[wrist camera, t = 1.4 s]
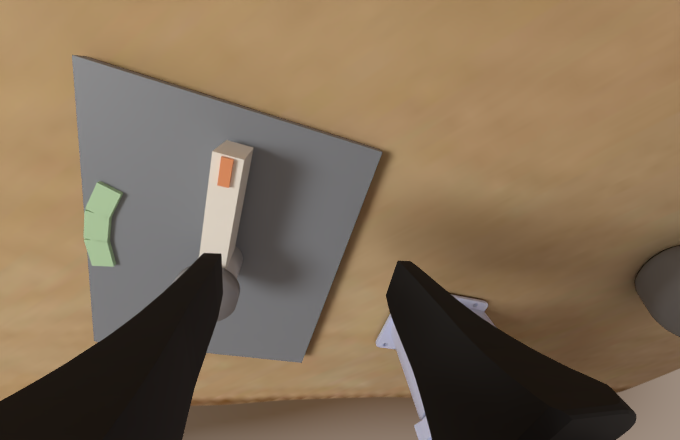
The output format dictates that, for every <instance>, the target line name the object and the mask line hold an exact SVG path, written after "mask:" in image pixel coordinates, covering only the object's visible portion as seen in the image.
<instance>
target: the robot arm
mask: <svg viewBox="0 0 680 440" xmlns="http://www.w3.org/2000/svg"><path fill="white" fill-rule="evenodd" d="M222 297H223V278H222V255H221V254H218V253H203V254H202V255H201V256H200V257H199V258H198V259H197V260H196V261H195V262H194V263H193V264H192V265H191V266H190V267H189V268H188V269H187V270H186V271H185V272H184V273H183V274H182V275H181V276H180V277H179V278H178V279H177V280H176V281H175V282H173V283H172V284H171V285H170V286H169V287H168V288H167V289H166V290H165V291H164V292H163V293H162V294H160V295H159V296H158V297H157V298H156V299H155V300H153V301H152V302H151V303H150V304H149V305H147V306H146V307H145V308H144V309H143V310H141V311H140V312H139V313H138V314H136V315H135V316H134V317H133V318H131V319H130V320H129V321H127V322H126V323H125V324H124V325H122V326H121V327H119V328H118V329H117V330H115V331H114V332H113V333H111V334H110V335H108V336H107V337H106V338H104V339H103V340H101V341H100V342H98V343H97V344H95V345H94V346H92V347H91V348H89V349H87V350H86V351H84V352H83V353H81V354H80V355H78V356H77V357H75V358H74V359H72V360H71V361H69V362H67V363H66V364H64V365H63V366H61V367H59V368H58V369H56V370H54V371H52V372H51V373H49V374H47V375H46V376H44V377H42V378H41V379H39V380H37V381H35V382H34V383H32V384H30V385H28V386H27V387H25V388H23V389H21V390H20V391H18V392H16V393H14V394H13V395H11V396H9V397H7V398H5V399H3V400H2V401H0V440H182V437H183V433H184V429H185V425H186V421H187V416H188V412H189V408H190V404H191V400H192V396H193V392H194V388H195V385H196V382H197V378H198V375H199V372H200V369H201V367H202V364H203V361H204V358H205V355H206V352H207V349H208V346H209V343H210V340H211V338H212V335H213V332H214V329H215V326H216V323H217V320H218V316H219V311H220V307H221V302H222ZM386 298H387V302H388V306H389V310H390V315H389V317H388V319H387V321H386V323H385V325H384V326H383V328H382V330H381V332H380V334H379V336H378V338H377V340H376V345H377V347H382V348H390V349H396V351H397V354H398V356H399V359H400V362H401V365H402V368H403V371H404V374H405V377H406V380H407V383H408V386H409V389H410V392H411V395H412V397H413V400H414V403H415V406H416V409H417V412H418V415H419V418H420V422H418V423H417V424H415V425H414V427H415V430H416V433H417V436H418V440H616V439H617V438H619V437H620V436H621V435H623V434H624V433H625V432H626V431H628V430H629V429H630V428H631V427H632V426H633V425H634V423H635V421H636V414H635V412H634V411H633V410H632V409H631V408H630V407H629V406H628V405H627V404H626V403H625V402H624V401H623V400H622V399H621V398H620V397H619V396H618V395H617V394H616V393H615V392H614V390H613V389H612V388H610V387H609V386H608V385H607V384H604V383H602V382H600V381H598V380H595V379H593V378H591V377H589V376H587V375H584V374H582V373H580V372H578V371H575V370H573V369H571V368H569V367H567V366H565V365H562V364H561V363H559V362H557V361H555V360H553V359H551V358H549V357H547V356H545V355H543V354H541V353H539V352H537V351H535V350H533V349H532V348H530V347H528V346H526V345H524V344H523V343H521V342H519V341H518V340H516V339H514V338H512V337H511V336H509V335H507V334H506V333H504V332H502V331H501V330H499V329H498V328H497V327H496V326H495V325H494V323H493V322H492V321H491V320H490V318H489V317H488V316H487V314H486V313H485V312H484V311H485V310H486V309H487V307H488V304H487V302H486V301H484V300H478V299H473V298H468V297H463V296H457V295H452V294H450V293H448V292H447V291H446V290H445V289H444V288H442V287H441V286H440V285H439V284H438V283H436V282H435V281H434V280H433V279H432V278H431V277H429V276H428V275H427V274H426V273H425V272H424V271H422V270H421V269H420V268H419V267H417V266H416V265H415V264H414V263H412V262H411V261H398V262H397V265H396V267H395V270H394V273H393V276H392V279H391V282H390V285H389V288H388V291H387V294H386Z"/></svg>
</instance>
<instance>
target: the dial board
mask: <svg viewBox="0 0 680 440" xmlns="http://www.w3.org/2000/svg"><path fill="white" fill-rule="evenodd" d="M72 61H73V74H74V87H75V100H76V113H77V126H78V139H79V152H80V164H81V177H82V190H83V203H84V238H85V239H84V242H85V245H86V248H87V255H88V267H89V280H90V293H91V306H92V319H93V332H94V341H96V342H100V341H101V340H103V339H104V338H106V337H107V336H108V335H110V334H111V333H113V332H114V331H115V330H117V329H118V328H119V327H121V326H122V325H124V324H125V323H126V322H127V321H129V320H130V319H131V318H133V317H134V316H135V315H136V314H138V313H139V312H140V311H141V310H143V309H144V308H145V307H146V306H147V305H149V304H150V303H151V302H152V301H153V300H155V299H156V298H157V297H158V296H159V295H160V294H162V293H163V292H164V291H165V290H166V289H167V288H168V287H169V286H170V285H171V284H172V283H173V281H174V280H175V278H176V277H177V275H178V274H179V273H180V272H181V271H182V270H183V269H185V268H186V267H188V266H191V265H192V264H193V263H194V262H195V261H196V260H197V259H198V257H199V254H200V245H201V237H202V229H203V221H204V213H205V205H206V197H207V189H208V181H209V173H210V165H211V157H212V151H213V150H214V149H216V148H217V147H218V146H220V145H221V144H222V143H224V142H225V141H226V140H229V141H232V142H236V143H239V144H243V145H246V146H250V147H253V153H252V159H251V164H250V169H249V175H248V180H247V185H246V191H245V196H244V202H243V207H242V212H241V218H240V223H239V228H238V234H237V239H236V245H235V246H236V247H237V248H238V249H239V250H240V251H241V253H242V256H243V262H242V265H241V268H240V271H239V274H238V277H237V280H238V282H239V285H240V295H239V298H238V302H237V305H236V308H235V310H234V311H233V313H232V314H231V315H230V316H228V317H227V318H225V319H223V320H221V321H218V322H217V323H216V326H215V329H214V332H213V335H212V338H211V340H210V343H209V346H208V349H207V352H206V353H213V354H223V355H232V356H242V357H252V358H261V359H271V360H281V361H290V362H300V363H302V360H303V358H304V355H305V353H306V350H307V347H308V345H309V342H310V340H311V337H312V334H313V332H314V329H315V327H316V324H317V321H318V319H319V316H320V313H321V311H322V308H323V306H324V303H325V300H326V298H327V295H328V293H329V290H330V287H331V285H332V282H333V280H334V277H335V274H336V272H337V269H338V267H339V264H340V261H341V259H342V256H343V254H344V251H345V248H346V246H347V243H348V241H349V238H350V235H351V233H352V230H353V228H354V225H355V222H356V220H357V217H358V215H359V212H360V209H361V207H362V204H363V202H364V199H365V196H366V194H367V191H368V189H369V186H370V183H371V181H372V178H373V176H374V173H375V170H376V168H377V165H378V162H379V160H380V157H381V155H382V151H381V150H379V149H377V148H374V147H371V146H368V145H365V144H362V143H358V142H355V141H352V140H349V139H346V138H343V137H339V136H336V135H333V134H330V133H327V132H324V131H320V130H317V129H314V128H311V127H308V126H305V125H301V124H298V123H295V122H292V121H289V120H286V119H282V118H279V117H276V116H273V115H270V114H267V113H263V112H260V111H257V110H254V109H251V108H248V107H244V106H241V105H238V104H235V103H232V102H229V101H225V100H222V99H219V98H216V97H213V96H210V95H206V94H203V93H200V92H197V91H194V90H191V89H187V88H184V87H181V86H178V85H175V84H172V83H168V82H165V81H162V80H159V79H156V78H153V77H149V76H146V75H143V74H140V73H137V72H134V71H130V70H127V69H124V68H121V67H118V66H115V65H111V64H108V63H105V62H102V61H99V60H96V59H92V58H89V57H86V56H78V55H72Z"/></svg>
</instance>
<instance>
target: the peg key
mask: <svg viewBox="0 0 680 440" xmlns="http://www.w3.org/2000/svg"><path fill="white" fill-rule="evenodd" d="M252 153H253V147H250V146H246V145H243V144H239V143H236V142H232V141H229V140H226V141H225V142H224V143H222V144H221V145H220V146H218V147H217V148H216V149H214V150H213V151H212V157H211V165H210V173H209V181H208V189H207V197H206V205H205V213H204V221H203V229H202V237H201V245H200V254H199V257H200V256H201V255H202V254H203V253H218V254H221V255H222V278H223V297H222V302H221V307H220V311H219V316H218V320H217V322H218V321H221V320H223V319H225V318H227V317H228V316H230V315H231V314H232V313H233V311H234V310H235V308H236V305H237V302H238V298H239V295H240V285H239V282H238V280H237V277H238V274H239V271H240V268H241V265H242V262H243V256H242V253H241V251H240V250H239V249H238V248H237V247H236V246H235V245H236V239H237V234H238V228H239V223H240V218H241V212H242V207H243V202H244V196H245V191H246V185H247V180H248V175H249V169H250V164H251V159H252ZM199 257H198V258H199ZM189 267H190V266H188V267H186V268H185V269H183V270H182V271H181V272H180V273H179V274H178V275H177V277H176V278H175V280H174V281H173V282H175V281H176V280H177V279H178V278H179V277H180V276H181V275H182V274H183V273H184V272H185V271H186V270H187V269H188V268H189Z"/></svg>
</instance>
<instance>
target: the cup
mask: <svg viewBox="0 0 680 440" xmlns="http://www.w3.org/2000/svg"><path fill="white" fill-rule="evenodd" d="M635 287H636V291H637V293H638V295H639V296H640V298H641V300H642V301H643V303H644V304H645V306H646V308H647V309H648V311H649V313H650V314H651V316H652V317H653V318H654V319H655V320H656V321H657V322H658V323H659V324H660V325H661V326H662V327H664V328H665V329H666V330H668V331H670V332H671V333H673V334H675V335H677V336H679V337H680V246H676V247H672V248H670V249H667V250H665V251H662V252H661V253H659V254H658V255H656V256H654V257H653V258H652V259H650V260H649V261H648V262H647V263H646V264H645V265H644V266H643V267H642V269H641V270H640V271H639V273H638V275H637V277H636V280H635Z"/></svg>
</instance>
